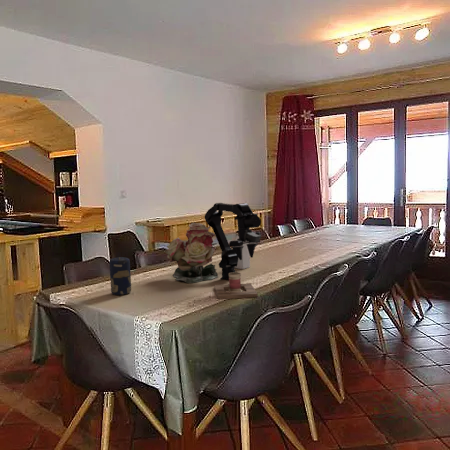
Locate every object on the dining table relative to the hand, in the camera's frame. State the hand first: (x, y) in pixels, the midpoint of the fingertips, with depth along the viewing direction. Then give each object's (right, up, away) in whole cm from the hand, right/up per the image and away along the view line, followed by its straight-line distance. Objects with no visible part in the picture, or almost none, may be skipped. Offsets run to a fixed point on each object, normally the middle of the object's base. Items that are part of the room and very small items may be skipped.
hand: (246, 258), depth 224 cm
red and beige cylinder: (-6, -15, -16) cm, 23 cm away
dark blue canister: (-60, -16, -12) cm, 64 cm away
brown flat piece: (-6, -15, -16) cm, 23 cm away
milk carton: (-1, -9, +41) cm, 41 cm away
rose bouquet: (-27, -12, +17) cm, 34 cm away
